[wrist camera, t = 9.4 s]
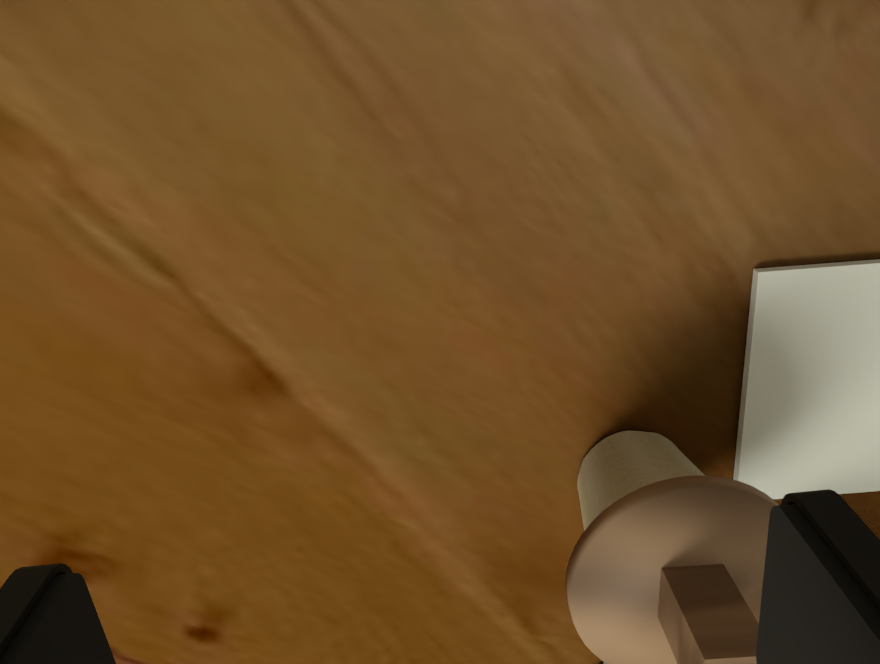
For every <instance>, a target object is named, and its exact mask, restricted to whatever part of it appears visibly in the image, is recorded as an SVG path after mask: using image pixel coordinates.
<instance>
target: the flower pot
mask: <svg viewBox="0 0 880 664" xmlns="http://www.w3.org/2000/svg"><path fill="white" fill-rule="evenodd" d="M703 475H704V474H703V473H702V472H701V471H700V470H699V469H698V468H697V467H696V466H695V465H694V464H693V463H692V462H691V461H690V460H689V459H688V458H687V457H686V456H685V455H684V454H683V453H682V452H681V451H680V450H679V449H678V448H677V447H676V446H675V444H673V443H672V442H671V441H670V440H669V439H667V438H666V437H664V436H662V435H660V434H658V433H654V432H643V431H631V430H628V431H622V432H618V433H616V434H613V435H611V436H608V437H607V438H605V439H603V440H602V441H600V442H599V443H598V444H596V445H595V446H594V447H593V448H592V449H591V450H590V451H589V452H588V453H587V455H586V456H585V458H584V459H583V461H582V465H581V468H580V472H579V476H578V482H577V487H578V492H579V498H580V504H581V511H582V518H583V524H584V531H585V530H586V529H587V527H588V526H589V525H590V524H591V522H592V521H593V520H594V519H595V518H596V517H597V516H598V515H599V514H600V513H601V512H602V511H604V510H605V509H606V508H608V507H609V506H610V505H612V504H613V503H614V502H616V501H617V500H619V499H620V498H622V497H624V496H625V495H627V494H629V493H631V492H633V491H635V490H637V489H639V488H641V487H644V486H647V485H649V484H652V483H655V482H658V481H662V480H666V479H671V478H675V477H684V476H703Z"/></svg>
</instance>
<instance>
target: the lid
mask: <svg viewBox="0 0 880 664" xmlns="http://www.w3.org/2000/svg"><path fill="white" fill-rule="evenodd" d="M774 506H778V504H777V503H776V502H775V501H774V500H773V499H772V498H770V497H769V496H768V495H767V494H765V493H764V492H762V491H760V490H758V489H757V488H755V487H753V486H751V485H748V484H745V483H743V482H740V481H737V480H733V479H729V478H725V477H717V476H708V475H703V476H684V477H675V478H671V479H666V480H662V481H658V482H655V483H652V484H649V485H647V486H644V487H641V488H639V489H637V490H635V491H633V492H631V493H629V494H627V495H625V496H624V497H622V498H620V499H619V500H617V501H616V502H614V503H613V504H612V505H610V506H609V507H608V508H606V509H605V510H604V511H602V512H601V513H600V514H599V515H598V516H597V517H596V518H595V519H594V520H593V521H592V522H591V524H590V525H589V526H588V527H587V529H586V530H585V531H584V532H583V534H582V535H581V537H580V539H579V540H578V542H577V544H576V545H575V547H574V550H573V552H572V554H571V557H570V560H569V564H568V567H567V572H566V582H565V584H566V596H567V600H568V605H569V609H570V612H571V616H572V620H573V623H574V625H575V628H576V630H577V632H578V634H579V636H580V637H581V639H582V641H583V642H584V644H585V645H586V646H587V647H588V648H589V649H590V650H591V652H592V653H593V654H595V655H596V656H597V657H598V658H599V659H601V660H602V661H603V662H605V663H607V664H757V661H756V647H757V637H758V627H759V617H760V607H761V597H762V587H763V577H764V567H765V557H766V547H767V537H768V527H769V517H770V511H771V509H772V507H774Z"/></svg>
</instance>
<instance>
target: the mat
mask: <svg viewBox="0 0 880 664" xmlns="http://www.w3.org/2000/svg"><path fill="white" fill-rule="evenodd" d="M733 480H737V481H740V482H743V483H745V484H748V485H751V486H753V487H755V488H757V489H758V490H760V491H762V492H764V493H765V494H767V495H768V496H769V497H770V498H772V499H783V498H784V496H785V495H786V494H789V493H797V492H807V491H817V490H828V489H830V490H833V491H835V492H836V493H837V494H848V493H861V492H873V491H880V259H875V260H862V261H849V262H836V263H823V264H810V265H797V266H784V267H771V268H758V269H753V278H752V289H751V299H750V310H749V320H748V331H747V341H746V351H745V362H744V372H743V383H742V393H741V404H740V414H739V425H738V435H737V446H736V456H735V466H734V477H733Z"/></svg>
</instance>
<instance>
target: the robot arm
mask: <svg viewBox="0 0 880 664" xmlns="http://www.w3.org/2000/svg"><path fill="white" fill-rule="evenodd" d="M756 661H757V664H880V540H879V539H878V538H877V537H876V536H875V534H874V533H873V532H872V531H871V530H870V529H869V528H868V527H867V525H866V524H865V523H864V522H863V521H862V520H861V519H860V518H859V517H858V515H857V514H856V513H855V512H854V511H853V510H852V509H851V508H850V506H849V505H848V504H847V503H846V502H845V501H844V500H843V499H842V497H841V496H840V495H839V494H837V493H836V492H835V491H833V490H830V489H828V490H817V491H807V492H797V493H789V494H786V495H785V496H784V498H783V499H782V504H781V505H778V506H774V507H772V509H771V511H770V517H769V527H768V537H767V547H766V557H765V567H764V577H763V587H762V597H761V607H760V617H759V627H758V637H757V647H756ZM0 664H116V663H115V660H114V657H113V655H112V652H111V649H110V647H109V644H108V641H107V639H106V636H105V633H104V631H103V628H102V625H101V623H100V620H99V617H98V615H97V612H96V609H95V607H94V604H93V601H92V599H91V596H90V593H89V591H88V588H87V585H86V583H85V580H84V578H83V577H82V576H81V575H80V574H78V573H72V571H71V569H70V568H69V567H68V566H67V565H66V564H51V565H40V566H30V567H21V568H19V569H17V570H15V571H14V572H13V573H12V574H11V575H10V576H9V578H8V579H7V580H6V582H5V583H4V584H3V586H2V587H1V588H0Z"/></svg>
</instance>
